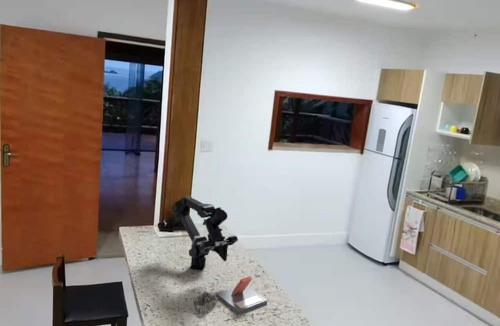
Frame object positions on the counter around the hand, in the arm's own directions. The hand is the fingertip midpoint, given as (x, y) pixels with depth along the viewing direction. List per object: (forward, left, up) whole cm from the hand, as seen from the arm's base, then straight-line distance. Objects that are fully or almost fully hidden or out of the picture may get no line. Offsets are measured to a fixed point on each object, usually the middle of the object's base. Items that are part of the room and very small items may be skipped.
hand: (225, 260), depth 181 cm
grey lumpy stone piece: (-6, -18, -13) cm, 23 cm away
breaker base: (+9, -10, -12) cm, 18 cm away
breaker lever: (+7, -7, -10) cm, 15 cm away
